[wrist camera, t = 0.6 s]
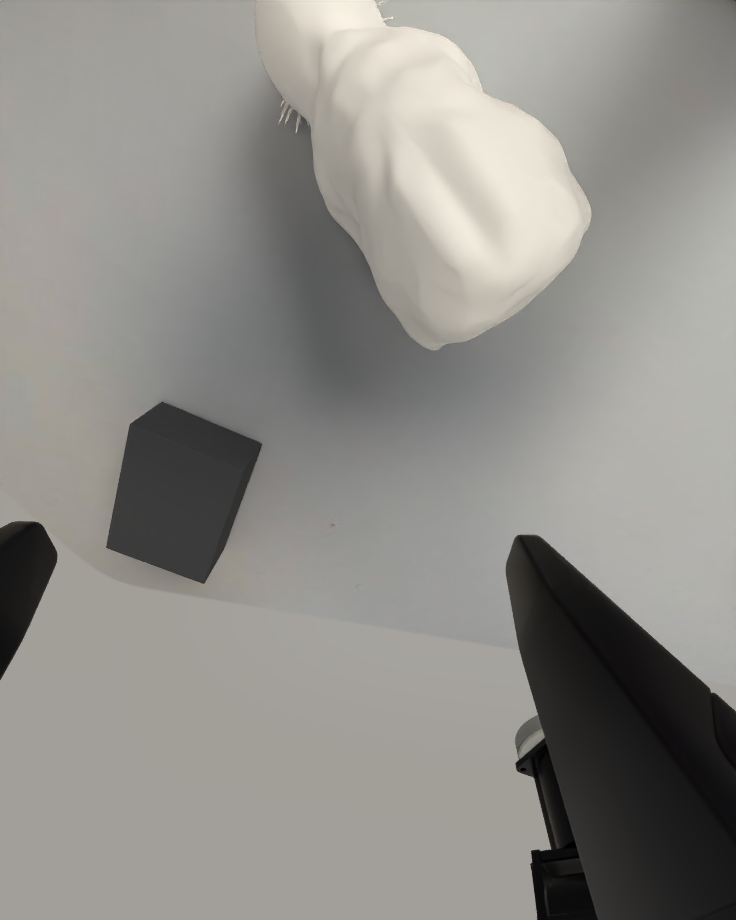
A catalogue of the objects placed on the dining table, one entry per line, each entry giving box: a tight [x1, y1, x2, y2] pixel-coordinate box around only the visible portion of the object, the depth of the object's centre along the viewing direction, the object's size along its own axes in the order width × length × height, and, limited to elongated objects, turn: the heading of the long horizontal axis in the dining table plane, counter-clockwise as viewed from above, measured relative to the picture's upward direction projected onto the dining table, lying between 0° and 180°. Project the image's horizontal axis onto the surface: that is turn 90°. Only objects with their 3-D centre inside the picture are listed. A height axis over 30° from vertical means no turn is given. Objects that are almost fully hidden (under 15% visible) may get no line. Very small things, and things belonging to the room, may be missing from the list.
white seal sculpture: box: [255, 0, 591, 350], centre depth 13 cm, size 6×8×12 cm
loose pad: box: [106, 402, 262, 584], centre depth 23 cm, size 8×6×3 cm
